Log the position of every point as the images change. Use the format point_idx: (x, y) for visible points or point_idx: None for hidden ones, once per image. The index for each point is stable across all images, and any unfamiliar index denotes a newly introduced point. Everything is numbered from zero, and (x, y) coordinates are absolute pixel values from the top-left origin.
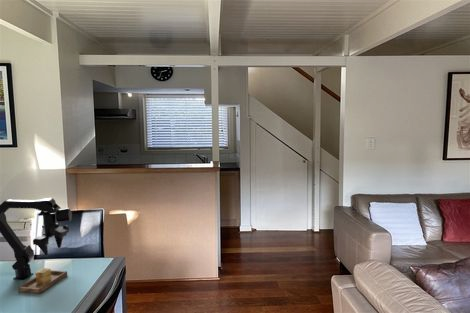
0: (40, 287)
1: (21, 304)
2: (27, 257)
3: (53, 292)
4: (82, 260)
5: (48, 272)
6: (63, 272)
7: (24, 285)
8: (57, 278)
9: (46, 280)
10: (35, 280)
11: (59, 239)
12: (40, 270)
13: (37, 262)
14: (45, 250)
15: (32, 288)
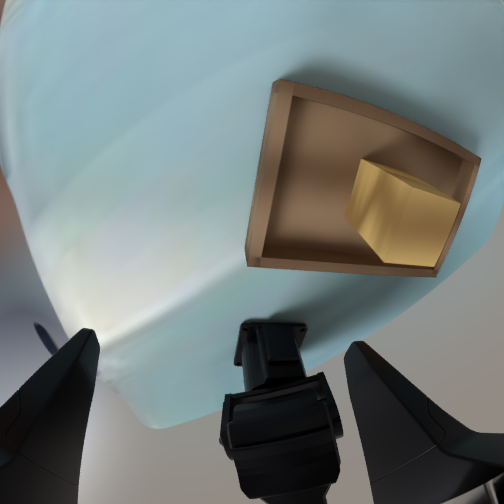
0: (430, 179)
1: (494, 192)
2: (331, 421)
3: (454, 93)
4: (25, 146)
5: (414, 184)
6: (289, 106)
7: (418, 266)
8: (382, 109)
9: (404, 174)
10: (356, 256)
11: (44, 453)
12: (418, 251)
13: (120, 367)
14: (414, 393)
15: (466, 202)
